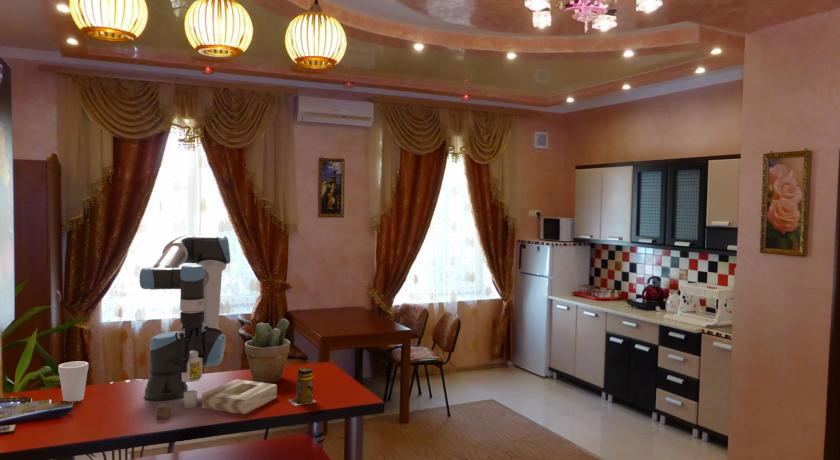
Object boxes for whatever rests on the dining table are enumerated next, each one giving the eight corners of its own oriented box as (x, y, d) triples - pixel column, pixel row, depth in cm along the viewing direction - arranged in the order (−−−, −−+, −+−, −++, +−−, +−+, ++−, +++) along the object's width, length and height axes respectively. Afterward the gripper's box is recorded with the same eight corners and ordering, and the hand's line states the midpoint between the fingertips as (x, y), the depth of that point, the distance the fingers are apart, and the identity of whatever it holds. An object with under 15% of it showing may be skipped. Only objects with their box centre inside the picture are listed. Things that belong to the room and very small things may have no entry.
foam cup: (72, 394, 227) (72, 360, 226) (93, 397, 225) (94, 362, 224) (52, 402, 217) (52, 367, 217) (74, 405, 215) (74, 368, 215)
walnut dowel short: (153, 418, 203) (153, 407, 203) (163, 414, 208) (163, 403, 207) (164, 420, 202) (164, 408, 202) (173, 416, 206) (173, 404, 206)
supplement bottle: (201, 377, 208) (201, 349, 207) (199, 382, 202) (199, 353, 202) (184, 377, 206) (184, 350, 206) (182, 382, 201) (182, 354, 201)
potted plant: (265, 388, 239) (266, 326, 238) (234, 380, 249) (234, 320, 248) (298, 378, 254) (299, 319, 253) (267, 370, 265) (268, 314, 264)
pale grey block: (181, 407, 216) (181, 393, 215) (189, 403, 220) (189, 389, 220) (191, 408, 214) (191, 394, 214) (199, 404, 218) (199, 391, 218)
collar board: (201, 407, 215) (201, 393, 215) (236, 391, 234) (236, 379, 234) (244, 414, 209) (244, 400, 209) (276, 397, 228) (276, 384, 228)
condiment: (316, 402, 224) (317, 370, 223) (295, 406, 219) (295, 373, 219) (309, 397, 230) (309, 365, 230) (287, 400, 225) (288, 368, 225)
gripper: (182, 316, 193) (181, 388, 195) (219, 307, 211) (218, 373, 212) (163, 314, 196) (163, 385, 197) (201, 305, 213) (201, 370, 214)
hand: (192, 378), depth 204 cm, fingers closed on supplement bottle, 5 cm apart
